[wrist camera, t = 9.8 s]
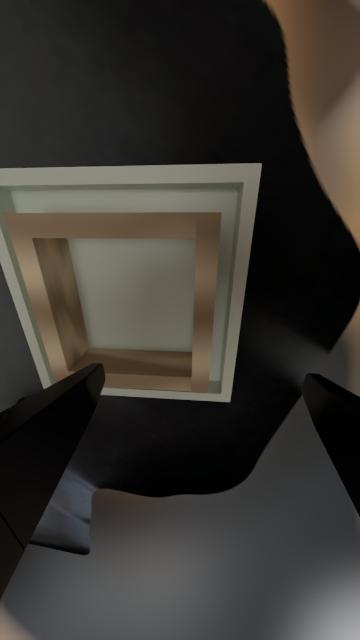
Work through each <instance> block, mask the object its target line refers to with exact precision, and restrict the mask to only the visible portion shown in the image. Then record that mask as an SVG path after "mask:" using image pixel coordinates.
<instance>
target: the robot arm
mask: <svg viewBox="0 0 360 640" xmlns="http://www.w3.org/2000/svg"><path fill="white" fill-rule="evenodd" d="M104 384H105V372H104V366H103V364H102V363H92V364H90V365H88V366H86V367H84V368H82V369H80V370H79V371H77V372H75V373H73V374H71V375H69V376H67V377H66V378H64V379H62V380H60V381H58V382H56V383H54V384H53V385H51V386H49V387H47V388H45V389H43V390H41V391H40V392H38V393H36V394H34V395H32V396H30V397H28V398H27V399H20V400H19V401H18V402H17V404H15V405H14V406H12V407H11V408H8V409H6V410H4V411H2V412H1V413H0V599H1V597H2V595H3V593H4V591H5V589H6V587H7V585H8V583H9V581H10V579H11V577H12V575H13V573H14V571H15V569H16V567H17V565H18V563H19V561H20V559H21V557H22V555H23V553H24V551H25V548H26V547H27V545H28V543H29V541H30V539H31V537H32V535H33V533H34V531H35V529H36V527H37V525H38V523H39V521H40V519H41V517H42V515H43V513H44V511H45V509H46V507H47V505H48V503H49V501H50V499H51V497H52V495H53V493H54V491H55V489H56V487H57V485H58V483H59V481H60V479H61V477H62V475H63V473H64V471H65V469H66V467H67V465H68V463H69V461H70V459H71V457H72V455H73V453H74V451H75V449H76V447H77V445H78V443H79V441H80V439H81V437H82V435H83V433H84V431H85V429H86V427H87V425H88V423H89V421H90V419H91V417H92V415H93V413H94V410H95V408H96V405H97V402H98V400H99V397H100V394H101V392H102V389H103V386H104ZM302 394H303V397H304V400H305V402H306V404H307V408H308V410H309V413H310V415H311V418H312V421H313V423H314V426H315V428H316V430H317V432H318V434H319V436H320V438H321V440H322V442H323V444H324V446H325V448H326V450H327V452H328V454H329V456H330V458H331V460H332V462H333V464H334V466H335V468H336V470H337V472H338V474H339V476H340V478H341V480H342V482H343V484H344V486H345V488H346V490H347V492H348V494H349V496H350V498H351V500H352V502H353V504H354V506H355V508H356V510H357V512H358V514H359V516H360V397H359V396H357V395H355V394H353V393H352V392H350V391H348V390H346V389H344V388H343V387H341V386H339V385H337V384H335V383H334V382H332V381H330V380H328V379H327V378H325V377H323V376H321V375H319V374H313V373H308V374H307V375H306V377H305V380H304V383H303V386H302Z"/></svg>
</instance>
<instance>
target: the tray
mask: <svg viewBox="0 0 360 640" xmlns="http://www.w3.org/2000/svg"><path fill="white" fill-rule="evenodd" d="M261 167H262V163H247V164H198V165H150V166H101V167H52V168H4V169H0V263H1V266H2V269H3V272H4V274H5V277H6V280H7V283H8V286H9V289H10V292H11V295H12V298H13V301H14V304H15V306H16V309H17V312H18V315H19V318H20V321H21V324H22V327H23V330H24V333H25V336H26V339H27V341H28V344H29V347H30V350H31V353H32V356H33V359H34V362H35V365H36V368H37V371H38V373H39V376H40V379H41V382H42V385H43V388H44V389H45V388H47V387H49V386H51V385H53V384H54V383H56V382H55V379H54V376H53V373H52V370H51V366H50V363H49V360H48V357H47V353H46V350H45V347H44V344H43V340H42V337H41V334H40V331H39V327H38V324H37V321H36V318H35V314H34V311H33V308H32V305H31V301H30V298H29V295H28V292H27V288H26V285H25V282H24V279H23V275H22V272H21V269H20V266H19V262H18V259H17V256H16V253H15V249H14V246H13V243H12V240H11V236H10V233H9V230H8V227H7V223H6V220H5V217H4V214H3V213H152V212H222V215H221V229H220V242H219V255H218V269H217V282H216V295H215V308H214V322H213V335H212V348H211V362H210V375H209V388H208V392H195V391H177V390H159V389H141V388H123V387H105V386H103V389H102V392H101V394H100V395H115V396H132V397H150V398H167V399H185V400H202V401H220V402H230V399H231V392H232V384H233V377H234V369H235V362H236V354H237V347H238V339H239V332H240V324H241V317H242V309H243V302H244V294H245V287H246V279H247V272H248V264H249V257H250V249H251V242H252V234H253V227H254V219H255V212H256V204H257V197H258V189H259V182H260V175H261ZM67 240H68V245H69V250H70V255H71V259H72V264H73V269H74V274H75V279H76V284H77V289H78V294H79V298H80V303H81V308H82V313H83V318H84V323H85V328H86V333H87V337H88V342H89V347H90V348H105V349H129V350H152V351H176V352H192V347H193V316H194V284H195V252H196V239H102V238H67Z"/></svg>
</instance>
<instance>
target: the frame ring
mask: <svg viewBox="0 0 360 640" xmlns="http://www.w3.org/2000/svg"><path fill="white" fill-rule="evenodd" d="M3 214H4V217H5V220H6V223H7V227H8V230H9V233H10V236H11V240H12V243H13V246H14V249H15V253H16V256H17V259H18V262H19V266H20V269H21V272H22V275H23V279H24V282H25V285H26V288H27V292H28V295H29V298H30V301H31V305H32V308H33V311H34V314H35V318H36V321H37V324H38V327H39V331H40V334H41V337H42V340H43V344H44V347H45V350H46V353H47V357H48V360H49V363H50V366H51V370H52V373H53V376H54V379H55V382H58V381H60V380H62V379H64V378H66V377H67V376H69V375H71V374H73V373H75V372H77V371H79V370H80V369H82V368H84V367H86V366H88V365H90V364H92V363H102V364H103V366H104V372H105V384H104V386H105V387H123V388H141V389H159V390H177V391H195V392H208V388H209V375H210V362H211V348H212V335H213V322H214V308H215V295H216V282H217V269H218V255H219V242H220V229H221V215H222V212H152V213H3ZM67 238H102V239H196V252H195V284H194V316H193V347H192V352H176V351H152V350H129V349H105V348H90V347H89V342H88V337H87V333H86V328H85V323H84V318H83V313H82V308H81V303H80V298H79V294H78V289H77V284H76V279H75V274H74V269H73V264H72V259H71V255H70V250H69V245H68V240H67Z"/></svg>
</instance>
